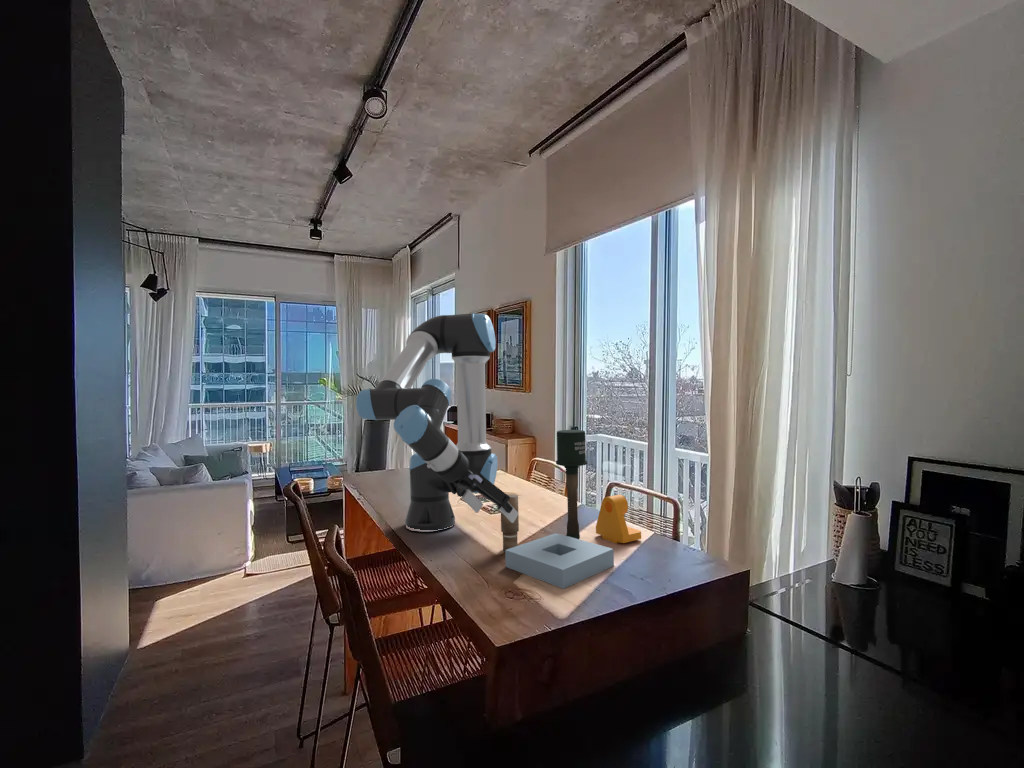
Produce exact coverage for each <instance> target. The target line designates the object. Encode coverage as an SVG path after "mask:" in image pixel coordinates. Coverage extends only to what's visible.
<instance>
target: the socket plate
mask: <svg viewBox="0 0 1024 768" xmlns="http://www.w3.org/2000/svg"><path fill="white" fill-rule="evenodd" d="M504 553H505V568H508V569H510V570H512V571H513V570H514V571H516V572H519V573H521V574H524V575H525V576H528V577H532V578H534V579H537V580H540V581H543V582H545V583H547V584H550V585H552V586H555V587H558V588H560V589H563V590H565V589H566V588H568V587H570V586H572V585H575V584H577V583H579V582H582V581H584V580H586V579H589V578H590V577H592V576H596V575H597V574H599V573H601V572H603V571H606V570H608V569H611V568H612V567H614V566H615V554H614V548H611V547H608V546H604V545H600V544H597V543H593V542H589V541H587V540H582V539H580V538H579V539H576V538H572V537H569V536H566V534H565V535H564V534H561V533H558V532H555V533H551V534H548V535H547V536H544V537H543V536H542V537H540V538H537V539H535V540H531V541H527V542H525V543H522V544H519V545H518V546H516V547H513V548H510V549H507V550H505V551H504Z"/></svg>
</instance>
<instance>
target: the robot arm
mask: <svg viewBox="0 0 1024 768" xmlns="http://www.w3.org/2000/svg"><path fill="white" fill-rule="evenodd" d="M496 342H497V341H496V335H495V328H494V324H493V323H492V320H491V317H489V315H487V314H485V313H474V312H473V313H461V314H459V313H458V314H446V315H445V314H443V315H442V314H441V315H436V316H434V317H432V318H431V317H430V318H429V319H427V320H425V321H424V322H421V324H419V325H417V327H416V328H414V329H413V331H411V332H410V334H409V335H408V336H407V339H406V342H405V346H404V348H403V349H402V351H400V353H399V355H398V356H397V357H396V359H395V360H394V361H393V363H392V364H391V366H390V367H389V369H388V370H387V371H386V373H384V375H383V377H382V378H381V379H380V381H379V382H378V383H377V384H376V386H374V387H375V388H372V387H371V388H366V389H365V388H364V389H362V390H359V393H357V396H356V402H355V408H356V410H357V415H358V416H359V417H360V418H361V419H363V420H370V421H371V420H374V421H385V420H387V421H390V420H393V429H394V431H395V432H396V434H398V436H399V437H400V438H401V440H402V441H403V442H404V444H406V445H407V446H408V447H409V448H411V449H412V450H413V452H415V453H413V454H412V455H411V456H410V460H409V483H410V484H409V485H410V486H409V488H410V490H409V492H410V501H409V505H408V509H407V513H406V517H405V520H404V525H405V524H406V525H407V526H408V527H410V528H414V529H420V530H438V529H444V528H447V527H450V526H452V525H454V524H455V525H456V517H455V514H454V510H453V507H452V505H451V502H450V496H449V495H450V493H452V495H457V496H458V497H459V498H461V499H462V500H463V501H464V502H465V504H467V505H468V506H469V507H470V508H471V509H472V510H473V511H474V512H475V513H477V514H478V513H479V512H480V510H481V509H482V507H483V506H484V504H483V502H482V501H481V500H480V499H479V498H478V497H477V496H476V495H475V494H479V495H481V496H483V497H484V498H486V499H487V500H489V501H490V502H492V503H493V504H494V505H496V510H499V512H500V513H501V512H502V513H503V514H504V515H505V516H506V517H507V518H508V520H509V521H510V522H511V523H514V521H515V519H516V518H517V516H518V515H519V513H520V512H519V511H518V512H517V511H516V510H515V509H514V508H513V507H512V505H511V504H510V503H509V502H508V500H509V499H510V497H509V496H508V495H507V494H508V493H506V492H504V491H503V490H501V489H500V488H499V487H498V486H496V485H495V482H496V478H497V475H498V473H497V472H498V464H499V463H498V456H497V455H496V453H492V446H491V445H490V444H488V442H487V415H486V414H487V413H486V412H487V411H486V410H487V407H486V406H487V405H486V402H487V401H486V400H487V399H486V363H487V362H488V361H489V360H490V357H491V354H490V353H493V352H495V350H496V344H497V343H496ZM439 354H451V360H452V361H454V363H456V390H457V391H456V393H457V394H456V398H457V400H456V401H457V404H456V406H457V408H456V409H457V443H456V444H455V443H454V442H453V441H452V440H451V439H450V437H448V436H447V435H446V433H444V432H443V430H442V429H441V427H442V424H443V421H444V418H445V415H446V413H447V411H448V408H449V406H450V402H451V401H450V400H451V396H452V391H451V388H450V386H449V385H448V383H446V382H445V381H443V380H441V379H439V378H430V379H428V380H426V381H424V383H423V384H422V385H421V387H416V388H415V387H413V386H414V384H415V382H416V381H417V380H418V378H419V376H420V374H421V373H422V372H423V370H424V368H425V366H426V365H427V364H428V361H429V360H431V359H433V358H435V356H437V355H439ZM455 525H454V526H455Z"/></svg>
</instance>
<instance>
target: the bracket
mask: <svg viewBox="0 0 1024 768" xmlns="http://www.w3.org/2000/svg"><path fill="white" fill-rule="evenodd" d="M628 509H629V504H628V499H626V497H625V496H624V495H622V494H616V495H610V496H605V497H603V499H602V501H601V504H600V509H599V513H598V516H597V520H596V525H595V534H597V535H600V536H601V539H603V540H606V541H608V542H612V543H614V544H617V545H618V544H620V543H622V544H626V543H630V542H634V541H637V540H642V531H641V530H639V529H636V528H633V527H630V526H628V525H627V522H626V518H625V514H627V512H628Z"/></svg>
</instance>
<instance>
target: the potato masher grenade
mask: <svg viewBox="0 0 1024 768" xmlns="http://www.w3.org/2000/svg"><path fill="white" fill-rule="evenodd" d="M586 445H587V444H586V431H585V430H582V429H561V430H557V431H556V459H557V460H555V461H556V462H555V464H556V465H557V466H561V467H564V468H565V482H566V483H565V485H566V490H567V493H566V494H567V495H566V496H567V499H566V500H567V501H566V502H567V523H566V534H565V536H569V537H572V538H576V539H579V540H580V538H581V535H580V534H581V533H580V524H579V519H578V516H579V515H578V513H579V511H578V485H579V484H578V483H579V479H578V478H579V477H578V476H579V475H578V473H579V468H580V467H581V466H586V465H588V460H587V452H586V451H587V450H586Z"/></svg>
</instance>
